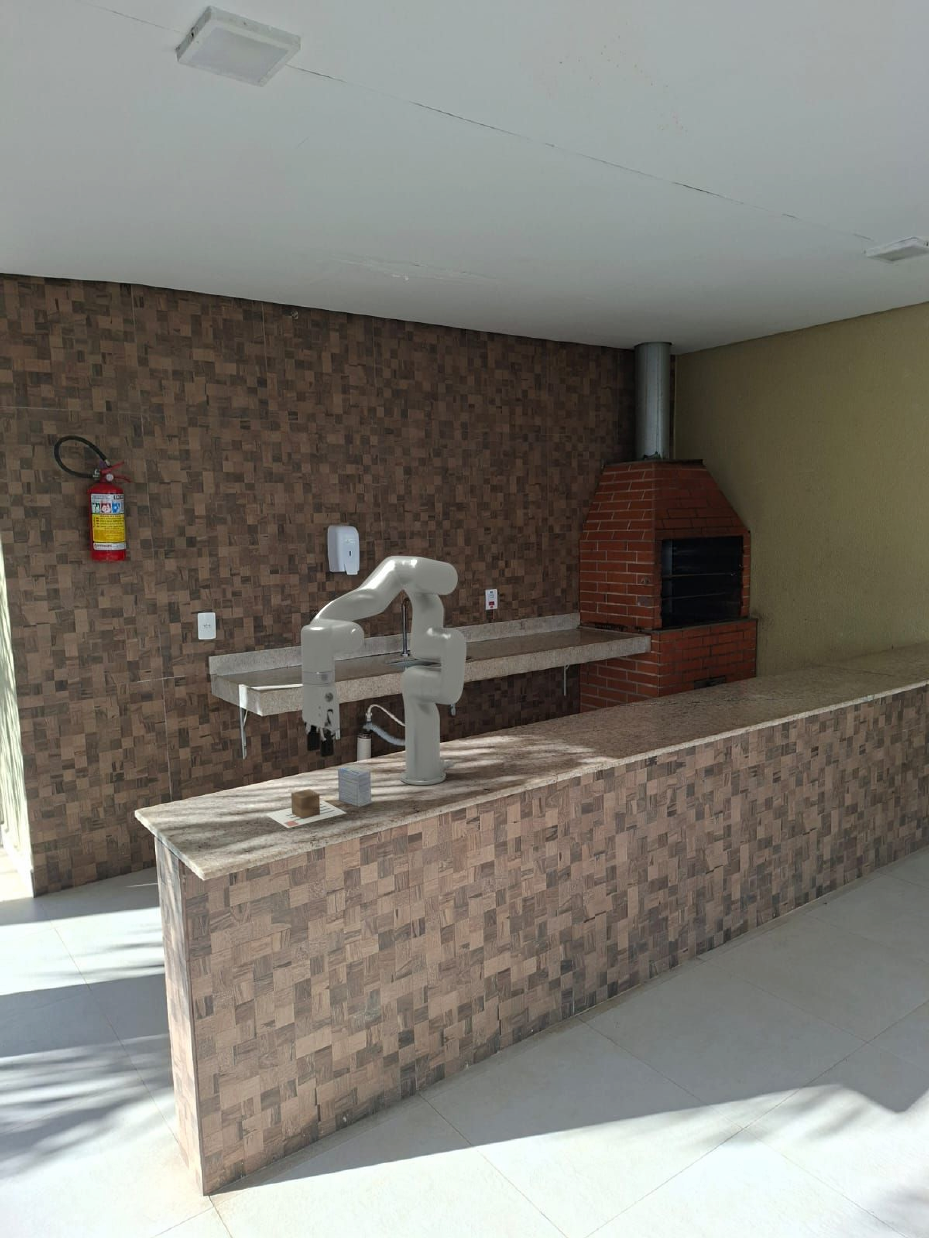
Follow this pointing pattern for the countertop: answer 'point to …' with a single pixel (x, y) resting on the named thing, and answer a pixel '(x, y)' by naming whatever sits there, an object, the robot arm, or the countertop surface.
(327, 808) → the letter
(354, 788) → the medicine box
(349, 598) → the robot arm
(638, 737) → the countertop surface
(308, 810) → the walnut block
